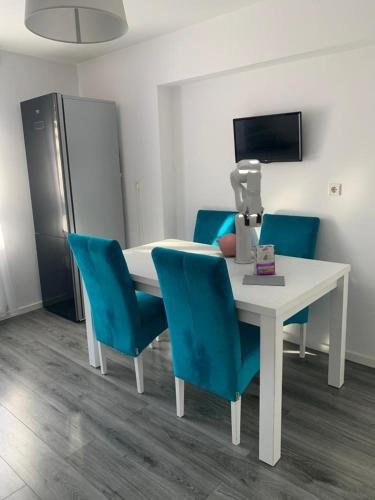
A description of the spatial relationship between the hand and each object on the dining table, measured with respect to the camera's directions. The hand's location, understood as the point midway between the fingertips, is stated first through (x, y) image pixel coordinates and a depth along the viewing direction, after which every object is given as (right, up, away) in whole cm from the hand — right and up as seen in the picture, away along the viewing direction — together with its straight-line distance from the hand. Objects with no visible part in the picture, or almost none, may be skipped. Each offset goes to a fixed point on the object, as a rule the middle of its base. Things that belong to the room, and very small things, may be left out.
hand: (252, 224), depth 224 cm
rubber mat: (+5, -31, -5) cm, 31 cm away
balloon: (-9, -18, +54) cm, 58 cm away
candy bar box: (+8, -28, +7) cm, 30 cm away
